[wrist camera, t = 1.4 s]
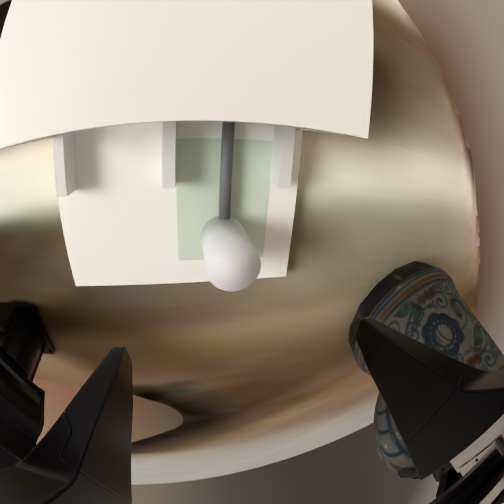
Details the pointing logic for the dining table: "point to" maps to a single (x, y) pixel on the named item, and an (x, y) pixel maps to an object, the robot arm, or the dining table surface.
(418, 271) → the beer stein
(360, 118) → the shelf
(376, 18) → the dining table surface
